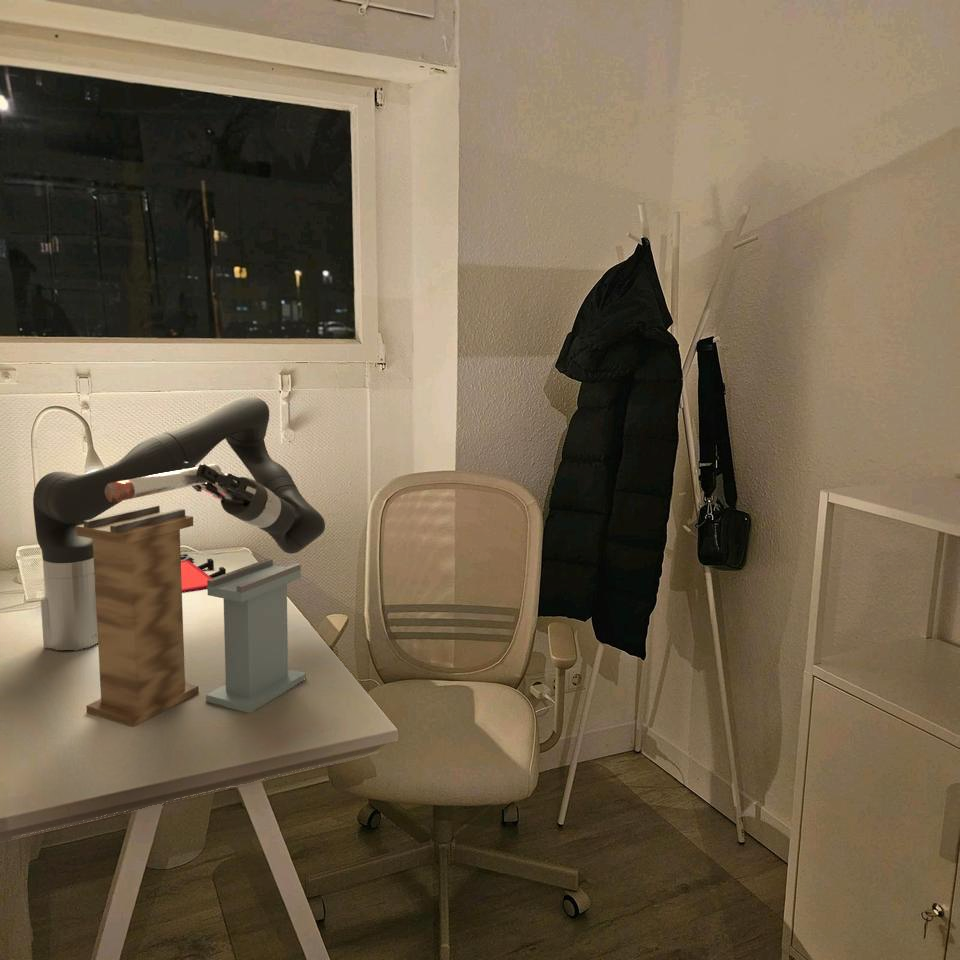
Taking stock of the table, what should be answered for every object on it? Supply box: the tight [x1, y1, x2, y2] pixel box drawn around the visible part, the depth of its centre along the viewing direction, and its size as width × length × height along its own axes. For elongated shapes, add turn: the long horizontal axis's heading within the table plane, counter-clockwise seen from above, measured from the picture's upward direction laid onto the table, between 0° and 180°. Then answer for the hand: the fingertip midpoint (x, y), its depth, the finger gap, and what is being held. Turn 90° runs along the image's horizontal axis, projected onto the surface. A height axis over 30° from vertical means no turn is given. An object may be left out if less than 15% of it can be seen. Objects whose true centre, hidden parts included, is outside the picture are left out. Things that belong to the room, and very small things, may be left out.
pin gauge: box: [105, 463, 222, 502], centre depth 135 cm, size 22×3×3 cm, turn 155°
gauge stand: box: [76, 504, 199, 728], centre depth 133 cm, size 14×10×32 cm
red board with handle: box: [181, 553, 227, 594], centre depth 206 cm, size 30×3×15 cm
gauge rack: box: [205, 558, 307, 714], centre depth 140 cm, size 15×9×21 cm, turn 155°
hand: (191, 468), depth 140 cm, fingers closed on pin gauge, 3 cm apart
